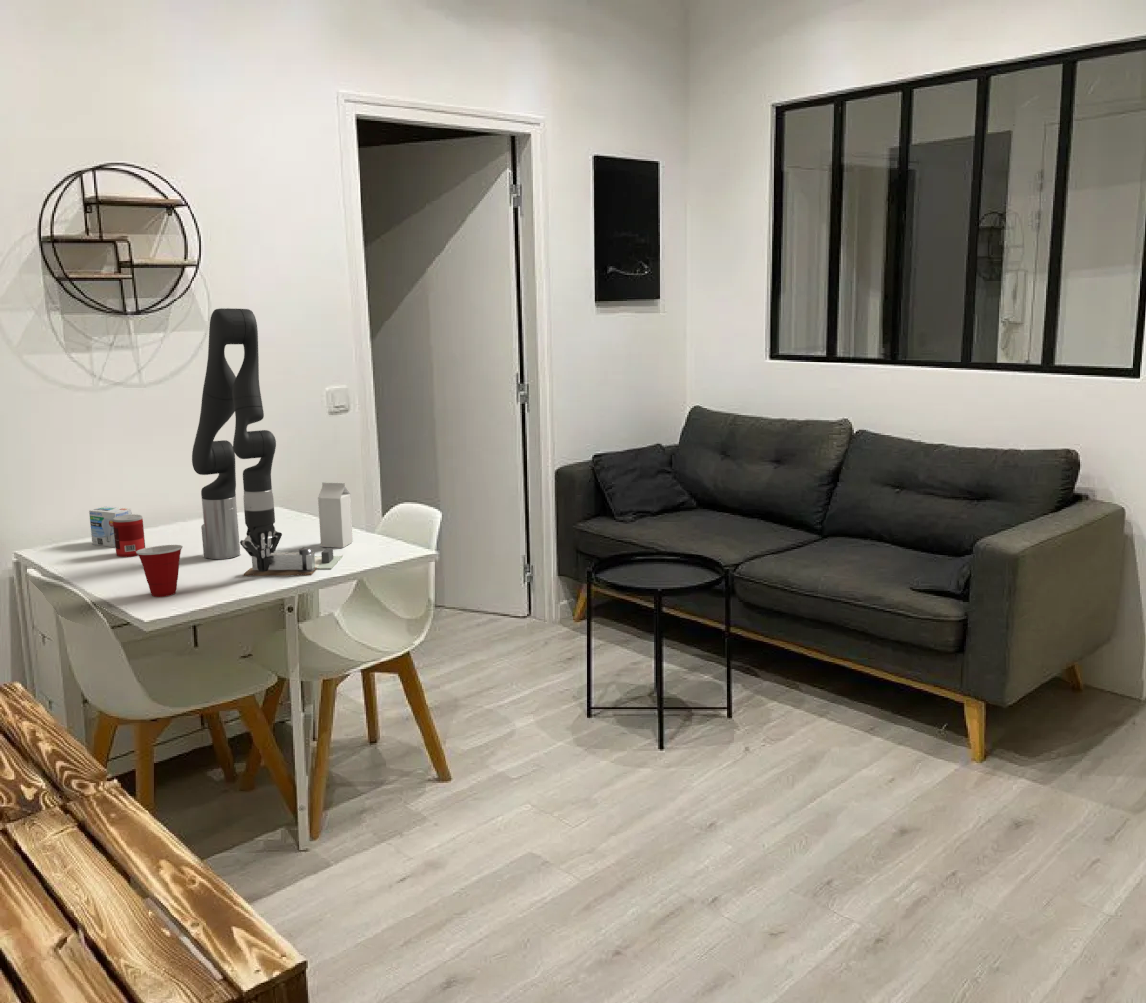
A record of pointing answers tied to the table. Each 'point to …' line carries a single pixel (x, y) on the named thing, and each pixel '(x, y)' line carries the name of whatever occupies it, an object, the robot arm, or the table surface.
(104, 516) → the light bulb box
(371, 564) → the table surface
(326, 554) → the block
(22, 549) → the table surface
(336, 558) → the door panel
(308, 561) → the lock bar
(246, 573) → the strip
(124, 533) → the canned food
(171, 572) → the plastic cup
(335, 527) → the milk carton
